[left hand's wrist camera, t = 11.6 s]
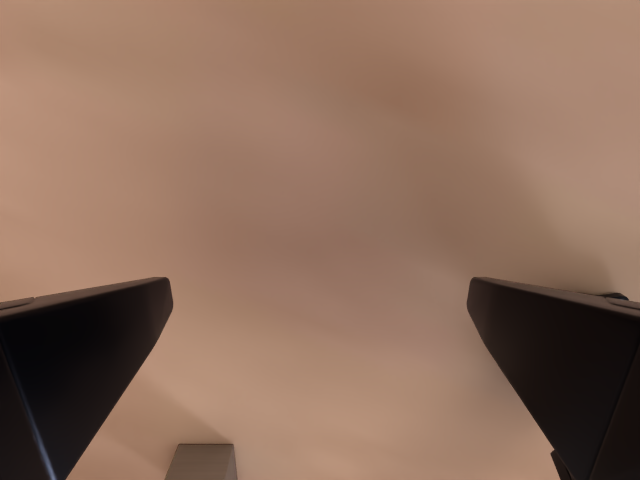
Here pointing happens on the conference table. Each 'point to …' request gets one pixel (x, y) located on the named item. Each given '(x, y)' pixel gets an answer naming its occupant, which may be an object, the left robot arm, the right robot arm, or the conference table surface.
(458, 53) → the conference table surface
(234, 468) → the grey metal block
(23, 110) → the conference table surface
